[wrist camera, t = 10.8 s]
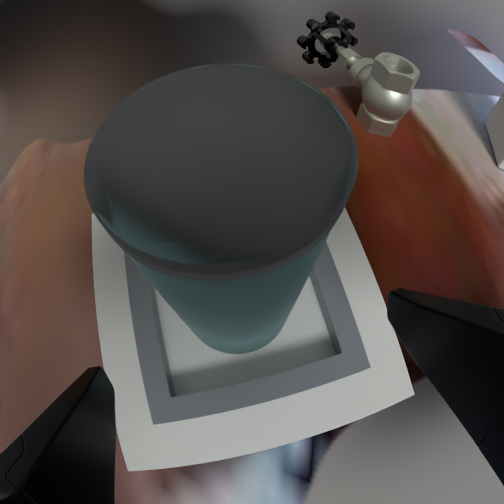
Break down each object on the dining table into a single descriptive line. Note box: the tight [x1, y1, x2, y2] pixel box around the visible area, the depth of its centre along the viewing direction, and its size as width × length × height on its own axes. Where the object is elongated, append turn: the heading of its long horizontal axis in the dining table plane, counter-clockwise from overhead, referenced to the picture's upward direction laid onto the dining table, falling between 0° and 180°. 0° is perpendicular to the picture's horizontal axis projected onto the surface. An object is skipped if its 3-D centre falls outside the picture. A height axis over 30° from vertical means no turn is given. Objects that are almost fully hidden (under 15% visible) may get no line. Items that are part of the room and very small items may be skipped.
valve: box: [297, 12, 420, 137], centre depth 23 cm, size 7×7×12 cm
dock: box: [92, 207, 414, 471], centre depth 17 cm, size 16×16×2 cm
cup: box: [84, 63, 358, 354], centre depth 11 cm, size 6×6×12 cm
